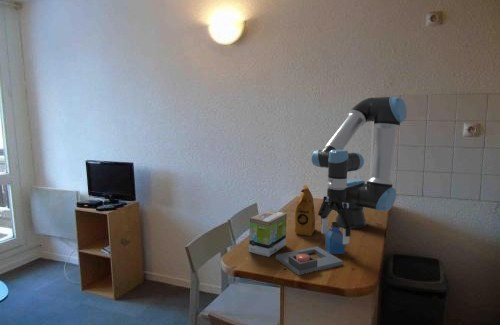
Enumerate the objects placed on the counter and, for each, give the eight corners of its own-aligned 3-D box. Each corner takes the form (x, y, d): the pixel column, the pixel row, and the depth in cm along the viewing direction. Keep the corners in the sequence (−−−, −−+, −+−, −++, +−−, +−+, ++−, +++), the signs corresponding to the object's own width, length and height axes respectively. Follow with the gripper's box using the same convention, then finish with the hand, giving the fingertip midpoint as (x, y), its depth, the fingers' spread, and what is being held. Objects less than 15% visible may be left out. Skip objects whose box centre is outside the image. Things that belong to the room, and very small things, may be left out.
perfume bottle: (325, 248, 148) (326, 220, 146) (339, 247, 149) (340, 220, 147) (329, 254, 142) (330, 225, 140) (344, 253, 142) (345, 225, 141)
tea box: (269, 257, 138) (270, 221, 136) (248, 252, 144) (248, 217, 142) (286, 245, 151) (287, 212, 149) (266, 241, 156) (266, 209, 154)
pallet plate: (317, 249, 146) (317, 240, 146) (342, 264, 132) (343, 254, 131) (275, 258, 138) (275, 248, 137) (298, 275, 123) (298, 264, 123)
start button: (304, 258, 132) (304, 253, 131) (312, 263, 127) (312, 258, 127) (293, 260, 130) (293, 255, 129) (300, 265, 125) (301, 260, 125)
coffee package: (291, 234, 164) (292, 189, 161) (296, 226, 176) (297, 183, 172) (312, 237, 161) (314, 190, 158) (316, 228, 173) (317, 185, 169)
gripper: (311, 183, 151) (309, 230, 154) (351, 195, 129) (348, 250, 131) (325, 181, 154) (323, 228, 157) (366, 193, 132) (363, 247, 135)
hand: (334, 238), depth 144 cm, fingers open, 13 cm apart
